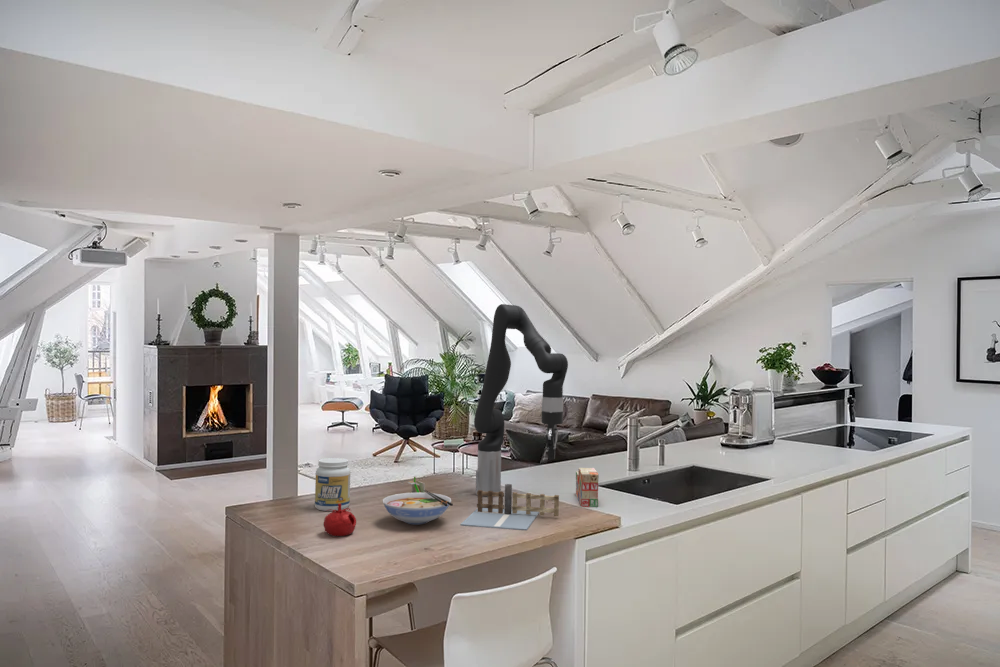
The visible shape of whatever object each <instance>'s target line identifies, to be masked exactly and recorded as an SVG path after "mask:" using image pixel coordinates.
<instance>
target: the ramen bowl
mask: <svg viewBox="0 0 1000 667" xmlns="http://www.w3.org/2000/svg"><path fill="white" fill-rule="evenodd" d="M423 491H424V490H423ZM382 503H383V505H384V507H385V509H386V511H387V512H388V513H389V515H390V516H391V517H393V518H394V519H396V520H399V521H400V522H404V523H406V524H409V525H412V526H413V525H415V526H416V525H418V526H419V525H424V524H427V523H428V522H431V521H434V520H436V519H439V518H440V517H441V516H442V515H443V514H444V513H445V512H446V511H447V510H448V508H449V506H451V507H452V506H453V504H454V503H452V498H451V497H449V496H447V495H445V494H440V493H434V492H431V491H428V490H426V489H425V493H421V492H419V493H412V492H404V493H396V494H392V495H388V496H386V497H384V498H382Z"/></svg>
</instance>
